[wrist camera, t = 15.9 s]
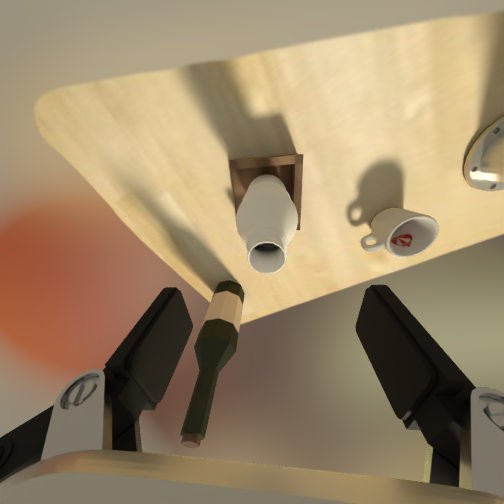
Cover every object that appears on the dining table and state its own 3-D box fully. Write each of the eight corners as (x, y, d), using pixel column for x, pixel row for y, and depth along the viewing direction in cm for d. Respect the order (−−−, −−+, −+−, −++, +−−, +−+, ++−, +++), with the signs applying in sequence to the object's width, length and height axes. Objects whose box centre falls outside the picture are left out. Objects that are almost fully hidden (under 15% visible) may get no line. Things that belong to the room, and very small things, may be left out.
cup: (358, 250, 41) (377, 271, 34) (346, 223, 38) (363, 239, 31) (410, 227, 38) (443, 244, 31) (401, 194, 35) (435, 205, 28)
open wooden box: (297, 153, 33) (303, 154, 27) (295, 219, 39) (299, 229, 33) (230, 160, 34) (224, 162, 29) (238, 222, 40) (234, 233, 35)
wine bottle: (250, 294, 50) (233, 450, 24) (229, 307, 53) (193, 457, 27) (230, 275, 47) (185, 427, 21) (208, 289, 50) (147, 439, 24)
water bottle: (241, 194, 36) (202, 261, 14) (265, 163, 33) (263, 189, 11) (267, 217, 38) (269, 306, 16) (292, 190, 35) (336, 256, 13)
